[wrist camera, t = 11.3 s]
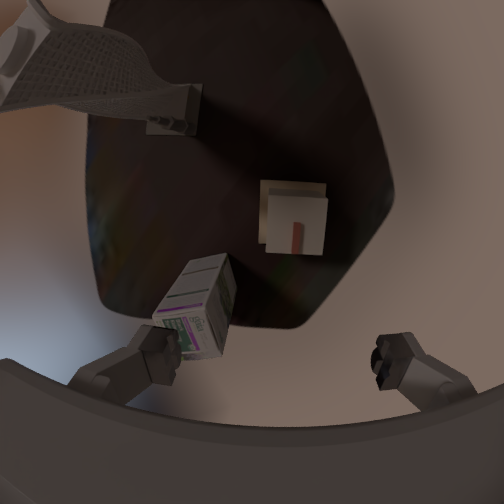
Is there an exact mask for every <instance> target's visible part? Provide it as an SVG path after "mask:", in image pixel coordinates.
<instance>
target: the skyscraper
mask: <svg viewBox="0 0 504 504" xmlns="http://www.w3.org/2000/svg"><path fill="white" fill-rule="evenodd" d="M27 4H28V6H27V8H26V9H25V10H24V12H23V13H22V14H21V15H20V17H19V18H18V19H17V21H16V22H15V23H14V25H13V26H11V27H9V28H8V29H7V30H6V31H5V32H4V33H3V34H2V36H1V37H0V113H3V112H8V111H13V110H19V109H25V108H31V107H38V106H46V105H54V104H55V105H58V106H62V107H64V108H67V109H71V110H75V111H79V112H84V113H89V114H94V115H100V116H107V117H116V118H126V119H140V120H146V121H147V128H146V135H189V136H196V132H197V124H198V116H199V108H200V101H201V94H202V87H203V84H171V83H168V82H166V81H164V80H163V79H161V78H160V77H159V76H158V75H157V74H156V73H155V72H154V71H153V70H152V68H151V65H150V62H149V60H148V57H147V55H146V53H145V52H144V50H143V49H142V47H141V46H140V45H139V44H138V43H137V42H136V41H135V40H133V39H132V38H131V37H129V36H127V35H125V34H123V33H121V32H118V31H115V30H112V29H108V28H104V27H99V26H93V25H85V24H77V23H67V22H64V21H62V20H60V19H58V18H56V17H54V16H52V15H51V14H50V13H49V12H48V11H47V9H46V8H45V6H44V5H43V4H42V2H41V1H40V0H27Z"/></svg>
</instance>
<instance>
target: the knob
mask: <svg viewBox="0 0 504 504" xmlns="http://www.w3.org/2000/svg"><path fill="white" fill-rule="evenodd" d="M327 206H328V198H326V197H325V196H324V195H322V194H321V193H320V192H318V191H311V190H297V189H280V188H269V192H268V215H267V237H266V252H269V253H289V254H308V255H322V253H323V245H324V236H325V227H326V217H327Z"/></svg>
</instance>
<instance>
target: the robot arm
mask: <svg viewBox="0 0 504 504" xmlns="http://www.w3.org/2000/svg"><path fill="white" fill-rule="evenodd" d="M178 339H179V333H178V330H176V329H171V328H164V327H158V326H149V325H141V327H140V328H139V330H138V331H137V333H136V334H135V335H134V337H133V338H132V340H131V341H130V343H129V345H128V346H127V347H122V348H120V349H118V350H116V351H114V352H112V353H110V354H108V355H106V356H104V357H102V358H100V359H98V360H95V361H93V362H91V363H89V364H87V365H85V366H83V367H80V368H79V369H78V371H77V372H76V374H75V375H74V376H73V378H72V379H71V380H70V382H69V383H68V385H67V386H66V385H64V384H61V383H59V382H57V381H54V380H52V379H50V378H48V377H45V376H43V375H41V374H39V373H37V372H35V371H33V370H31V369H29V368H26V367H24V366H23V365H21V364H19V363H17V362H16V361H14V360H12V359H8V358H5V359H1V360H0V504H504V383H503V384H501V385H499V386H497V387H494V388H492V389H489V390H487V391H484V392H482V393H479V394H478V393H477V391H476V390H475V388H474V387H473V385H472V383H471V382H470V380H469V379H468V377H467V376H465V375H463V374H462V373H460V372H458V371H456V370H455V369H453V368H451V367H450V366H448V365H446V364H444V363H442V362H441V361H439V360H437V359H436V358H434V357H432V356H430V355H426V354H425V353H424V351H423V349H422V348H421V346H420V344H419V343H418V341H417V340H416V338H415V337H414V335H413V334H412V333H411V332H405V333H399V334H386V335H379V336H378V338H377V340H376V345H377V348H375V349H374V350H373V352H372V355H371V368H372V371H373V372H374V373H375V374H376V375H377V377H376V382H377V384H378V387H379V390H380V391H382V390H390V389H397V390H398V391H399V392H400V393H402V394H403V395H404V396H405V397H406V398H407V399H409V401H410V402H412V403H413V404H414V405H415V406H416V407H417V408H418V409H420V411H421V412H417V413H413V414H408V415H403V416H398V417H393V418H387V419H381V420H375V421H368V422H361V423H352V424H343V425H330V426H314V427H259V426H242V425H230V424H220V423H212V422H204V421H197V420H190V419H184V418H179V417H173V416H168V415H163V414H158V413H154V412H149V411H145V410H141V409H137V408H133V407H129V406H126V405H125V404H126V403H127V402H129V401H130V400H132V399H133V398H134V397H136V396H137V395H138V394H140V393H141V392H142V391H143V390H145V389H146V388H147V387H149V386H150V385H151V384H152V383H155V384H161V385H168V386H172V383H173V381H174V378H175V376H176V373H175V369H177V368H178V367H179V366H180V363H181V357H182V350H181V345H180V344H179V343H178V342H177V341H178Z"/></svg>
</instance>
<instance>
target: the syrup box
mask: <svg viewBox="0 0 504 504" xmlns="http://www.w3.org/2000/svg"><path fill="white" fill-rule="evenodd" d="M236 292H237V285H236V282H235V279H234V275H233V272H232V268H231V265H230V261H229V257H228V254H227V253H223V254H219V255H214V256H209V257H204V258H200V259H195V260H190V261H189V262H188V264H187V265H186V267H185V268H184V270H183V271H182V273H181V274H180V276H179V277H178V279H177V280H176V281H175V283H174V284H173V286H172V287H171V289H170V290H169V291H168V293H167V294H166V296H165V297H164V298H163V300H162V301H161V303H160V304H159V306H158V307H157V309H156V310H155V312H154V314H153V315H152V318H153V320H154V322H155V324H156V326H158V327H164V328H171V329H176V330H178V333H179V339H178V341H177V342H178V343H179V344H180V345H181V350H182V357H181V360H200V359H208V358H215V357H221V356H222V355H223V350H224V346H225V342H226V337H227V333H228V328H229V324H230V319H231V315H232V310H233V306H234V301H235V297H236Z"/></svg>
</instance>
